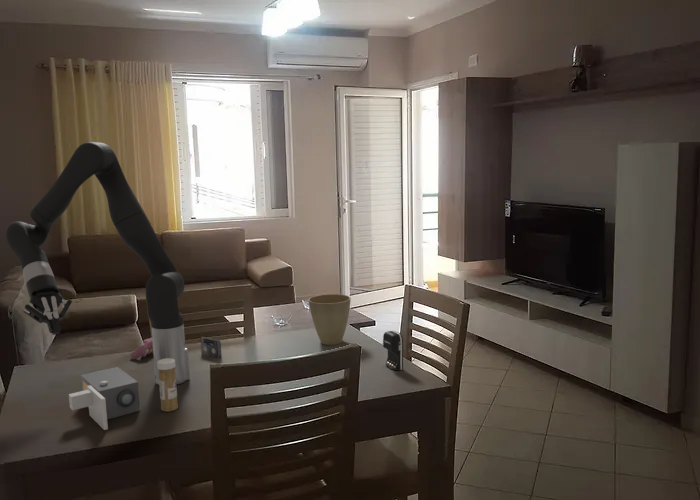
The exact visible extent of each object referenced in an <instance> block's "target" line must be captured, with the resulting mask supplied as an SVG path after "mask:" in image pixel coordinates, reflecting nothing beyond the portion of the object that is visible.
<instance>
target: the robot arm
mask: <svg viewBox="0 0 700 500" xmlns="http://www.w3.org/2000/svg"><path fill="white" fill-rule="evenodd" d="M121 167H122V166H121V164H120V162H119V160H118V157H117V155H116V153H115V152H114V150H113V149H112V148H111V146H109V145H108V144H106V143H104V142H100V141H99V142H97V141H88V142H87V141H86V142H83V143H81V144H80V145H79V146H78V147H77V148H76V149H75V150H74V151H73V154H72V156H71V157H70V159H69V160H68V162H67V164H66V166H65V167H64V169H62V171H61V173H60V175H59V176H58V177H57V179H56V180H55V182H54V183H53V184H52V185H51V187H50V188H49V190H48V191H47V192H45V194H44V195H43V196H42V197H41V198H40V200H39V201H38V202H37V203H36V204H35V205H34V206H33V207H32V208H31V210H30V213H29V214H30V215H29V217H30V219H32V221H33V222H35V224H34V225H33V224H30V223H27V222H24V221H19V220H18V221H13V222H11V223H10V224H9V225H8V226H7V228H6V231H5V239H6V242H7V244H8V245H9V247H10V249H11V250H12V252H13V253H14V255H15V257H17V259H18V260H19V264H20V266H21V270H22V273H23V274H22V275H23V280H24V284H25V287H26V290H27V294H28V296H29V303H28V304H25V306H24V308H23V313H24V314H26V315H27V316H29V317H30V318H31V319H33V320H35V321H36V322H38V323H39V324H43V323H45V324H46V325H47V328H48V329H47V330H48V332H49V333H50V334H52V336H54V335H59V334H60V332H61V330H62V326H61V321H63V319H64V318H65V316H66V314H67V313H68V311H69V309H70V307H71V305H72V303H73V301H72V299H67V300H66V299H64V297H63V296H62V295H61V294H60V291H59V288H58V285H57V281H56V278H55V275H54V273H53V270H52V267H51V266H50V263H49V260H48V257H47V254H46V252H45V251H44V250H43V249H42V248H41V247H42V246H43V245H44V244H45V243H46V241H47V239H48V236H49V234H50V232H51V230H52V227H53V226H54V224H55V223H56V221H58V220H59V219H60V217H61V216H62V215H63V214H64V213H65V211H66V210H67V209H68V207H69V206H70V205H71V202H72V200H73V198H74V196H75V194H76V192H77V191H78V189H79V188H80V187H81V186H82V185H83V184H84V183H85V182H86V181H87V180H89V178H91V177H92V176H95V177H96V179H97V181H98V182H99V183H100V185H101V187H102V189H103V191H104V193H105V196H106V199H107V205H108V211H109V215H110V219H111V222H112V224H113V226H114V228H115V229H116V231H117V233H118V235H119V236H120V238H121V239H122V241H123V242H124V243H125V245H126V246H127V247H129V249H130V250H131V251H132V252H134V254H135V255H137V256H138V257H139V258H140V260H141V261H142V262H143V263H144V265H145V266H146V268H147V270H148V272H149V274H150V276H151V277H150V278H149V279H148V280H147V282H146V283H145V284H146V285H145V299H146V301H145V302H146V308H147V315H148V319H149V321H150V323H151V324H150V326H151V336H152V337H151V338H152V341H153V350H152V352H153V365H154V366H153V367H154V380H155V384H156V385H158V386H159V370H158V367H157V362H158V361H159V360H161V359H166V358H172V359H174V360H175V377H176V386H177V385H179V384H182V383H185V382H186V381H189V380H191V376H190V374H191V373H190V362H189V360H190V359H189V349H188V347H186V341H185V339H186V337H185V324H184V323H185V321H184V315H183V313H181V312H180V311H179V302H178V301H179V300H178V298H180V297H181V296H182V294H183V293H184V291H185V281H184V277H183V275H182V274H181V272H180V271H179V270H178V269H177V267H176V266H175V265H174V262H173V261H172V260H171V258H170V257H169V254H167V252H166V251H165V248H164V247H163V245H162V243H161V241H160V238H159V237H158V235H157V233H156V231H155V230H154V227H153V226H152V223H151V221H150V220H149V218H148V216H147V214H146V213H145V210H144V209H143V207H142V206H141V204H140V202H139V200H138V199H137V197H136V195H135V193H134V191H133V189H132V187H131V186H130V184H129V183H128V181H127V179H126V177H125V173H124V172H123V169H122V168H121ZM60 305H61V307H62V310H61V311H60V313H59V307H60Z"/></svg>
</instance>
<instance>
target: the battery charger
mask: <svg viewBox="0 0 700 500" xmlns="http://www.w3.org/2000/svg"><path fill="white" fill-rule="evenodd" d="M382 347H383V348H385V349H386V350H387V359H386V360H385V367H387V368H389V369H390V370H393V371H402V370H403V369H404V338H403V335H402V333H400V332H398V331H396V330H389V331H385V332H384V333H383V337H382Z"/></svg>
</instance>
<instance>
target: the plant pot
mask: <svg viewBox="0 0 700 500" xmlns="http://www.w3.org/2000/svg"><path fill="white" fill-rule="evenodd" d="M351 299H352V298H351V296H349V295H347V294H346V295H345V294H339V293H338V294H337V293H328V294H319V295H314V296H311V297H309V298H308V299H307V300H308V305H309V309H310V314H311V317H312V323H313V325H314V328H315V331H316V334H317V336H318V339H319V341H320V343H321V344H323V345H325V346H335V345H339V344H341V343H342V342H343V339H344V335H345V332H346V329H347V326H348V321H349V316H350V315H349V314H350V308H351V307H350V306H351Z"/></svg>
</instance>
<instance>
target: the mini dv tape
mask: <svg viewBox="0 0 700 500" xmlns="http://www.w3.org/2000/svg"><path fill="white" fill-rule="evenodd" d="M200 350H201V351H200V352H201V354H200V355H203V356H206V357H212V358H214V359H220V358H222V356H223V355H222V342H221V340H219V339H215V338H210V337H205V336H201V337H200Z"/></svg>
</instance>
